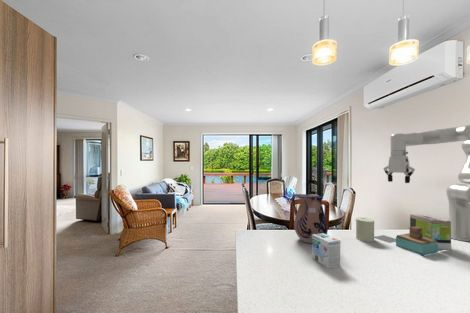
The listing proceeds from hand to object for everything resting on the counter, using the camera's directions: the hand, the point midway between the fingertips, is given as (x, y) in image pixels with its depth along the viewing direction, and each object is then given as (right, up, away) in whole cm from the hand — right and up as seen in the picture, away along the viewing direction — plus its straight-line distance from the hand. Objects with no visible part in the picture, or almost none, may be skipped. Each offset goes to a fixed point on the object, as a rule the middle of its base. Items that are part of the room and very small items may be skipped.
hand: (398, 182), depth 135 cm
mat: (-13, -32, -9) cm, 35 cm away
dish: (-8, -31, -23) cm, 39 cm away
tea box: (+6, -32, -15) cm, 36 cm away
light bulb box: (-60, -31, -38) cm, 77 cm away
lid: (-8, -26, -22) cm, 35 cm away
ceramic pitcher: (-59, -31, -11) cm, 67 cm away
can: (-26, -32, -9) cm, 42 cm away
